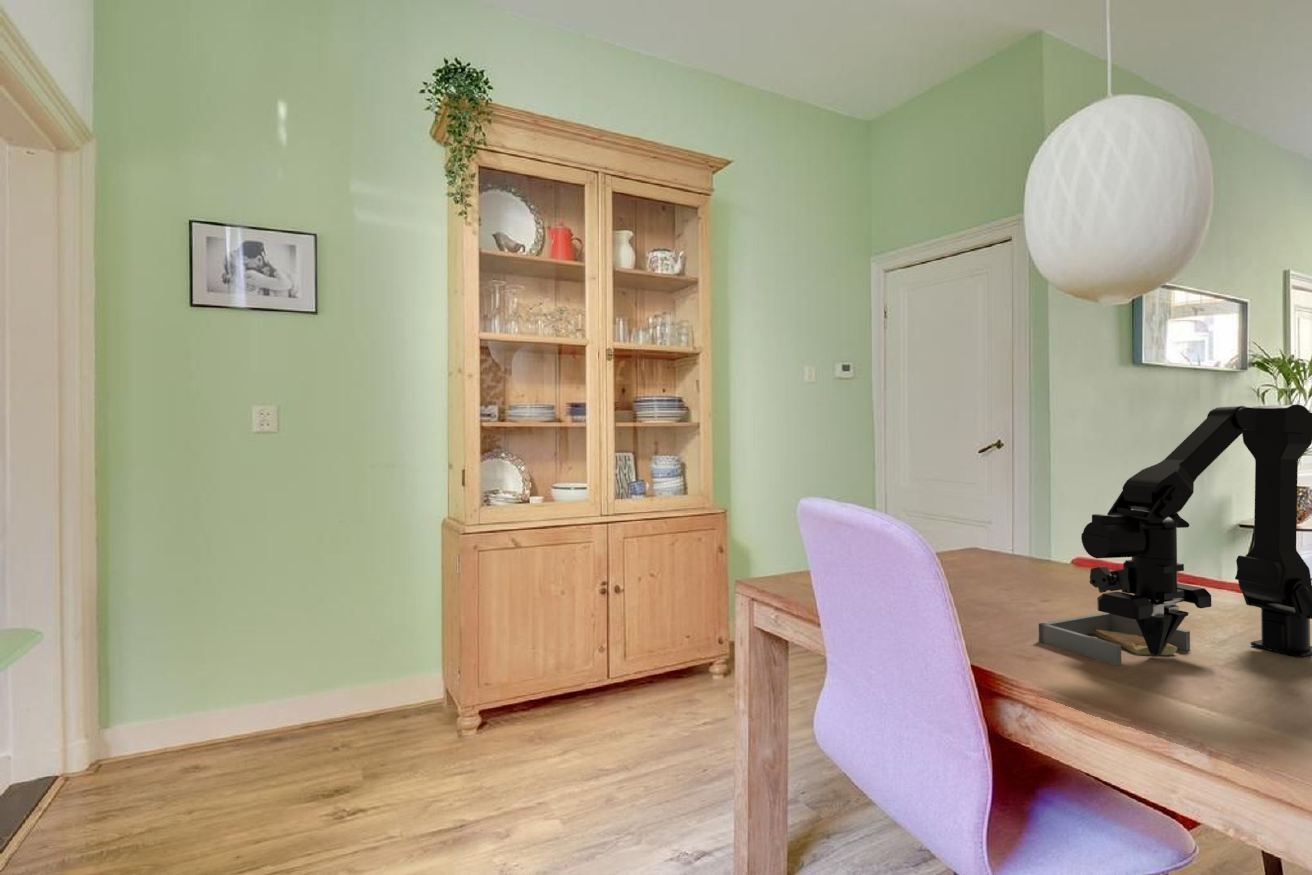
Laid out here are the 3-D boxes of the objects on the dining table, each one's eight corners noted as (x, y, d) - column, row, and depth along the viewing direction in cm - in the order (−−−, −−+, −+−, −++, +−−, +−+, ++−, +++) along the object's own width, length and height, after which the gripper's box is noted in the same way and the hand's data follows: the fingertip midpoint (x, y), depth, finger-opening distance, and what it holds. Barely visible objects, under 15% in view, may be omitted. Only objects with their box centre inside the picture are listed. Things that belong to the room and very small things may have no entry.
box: (1108, 628, 118) (1108, 611, 118) (1190, 649, 106) (1189, 631, 106) (1038, 640, 111) (1038, 623, 111) (1116, 665, 99) (1116, 645, 99)
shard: (1093, 636, 115) (1093, 626, 115) (1138, 636, 114) (1138, 626, 114) (1134, 657, 104) (1134, 646, 104) (1184, 657, 103) (1184, 646, 103)
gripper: (1138, 543, 113) (1139, 632, 113) (1064, 552, 106) (1065, 647, 106) (1212, 554, 103) (1214, 652, 103) (1135, 564, 96) (1137, 669, 96)
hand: (1155, 654), depth 102 cm, fingers closed
